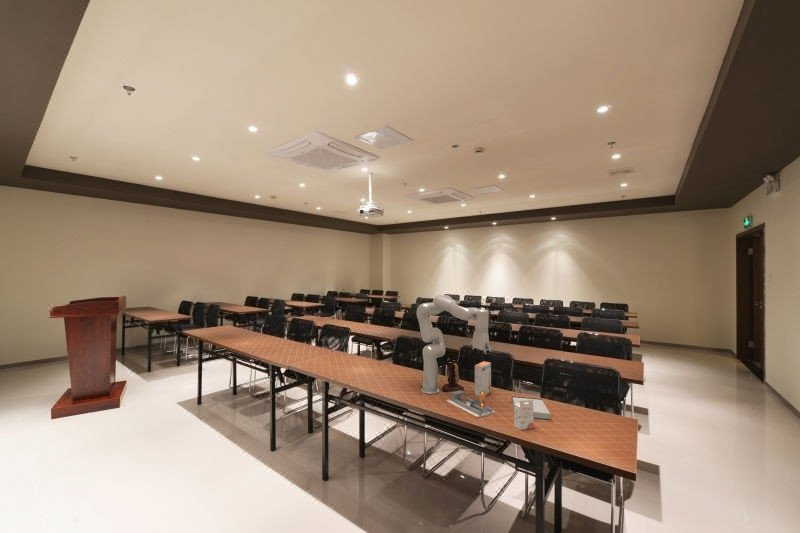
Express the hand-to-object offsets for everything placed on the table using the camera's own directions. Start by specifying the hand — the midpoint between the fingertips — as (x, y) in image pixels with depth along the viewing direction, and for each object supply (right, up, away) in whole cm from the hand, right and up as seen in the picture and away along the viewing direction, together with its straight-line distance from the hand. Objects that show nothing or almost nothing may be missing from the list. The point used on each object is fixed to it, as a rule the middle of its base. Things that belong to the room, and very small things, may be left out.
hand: (480, 358), depth 203 cm
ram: (-3, -27, -9) cm, 29 cm away
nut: (-10, -28, +2) cm, 30 cm away
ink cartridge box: (+16, -29, -26) cm, 43 cm away
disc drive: (+28, -31, -5) cm, 42 cm away
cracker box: (+7, -31, +21) cm, 38 cm away
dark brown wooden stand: (-12, -31, +29) cm, 44 cm away
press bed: (-7, -29, -2) cm, 30 cm away
